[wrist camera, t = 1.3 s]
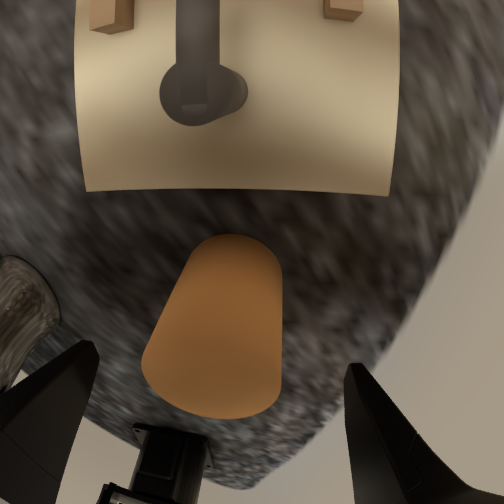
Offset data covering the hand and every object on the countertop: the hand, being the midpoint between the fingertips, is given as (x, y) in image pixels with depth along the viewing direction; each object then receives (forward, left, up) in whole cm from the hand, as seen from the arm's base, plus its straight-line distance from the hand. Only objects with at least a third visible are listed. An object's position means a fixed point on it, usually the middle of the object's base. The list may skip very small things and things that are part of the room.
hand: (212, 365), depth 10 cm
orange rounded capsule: (0, 0, -5) cm, 5 cm away
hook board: (+12, 0, -5) cm, 13 cm away
